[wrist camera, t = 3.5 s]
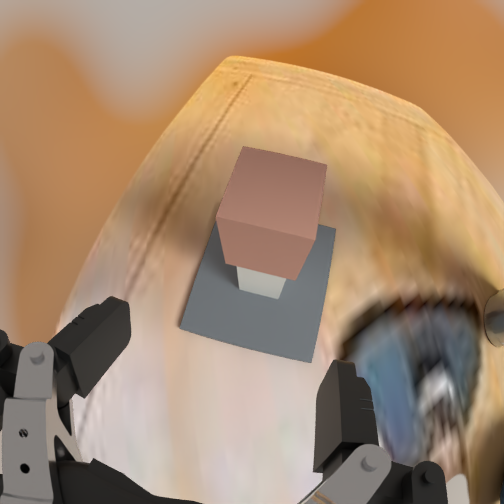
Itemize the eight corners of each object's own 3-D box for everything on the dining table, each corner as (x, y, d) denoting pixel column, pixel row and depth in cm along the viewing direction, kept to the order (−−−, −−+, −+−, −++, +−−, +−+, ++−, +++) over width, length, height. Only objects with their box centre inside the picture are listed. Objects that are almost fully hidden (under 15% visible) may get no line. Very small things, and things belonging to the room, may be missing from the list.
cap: (244, 204, 27) (243, 146, 20) (307, 219, 26) (327, 164, 19) (225, 263, 25) (215, 216, 17) (295, 280, 24) (315, 240, 17)
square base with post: (223, 205, 40) (209, 104, 23) (334, 231, 38) (381, 141, 22) (180, 329, 33) (118, 289, 16) (309, 362, 31) (369, 355, 15)
